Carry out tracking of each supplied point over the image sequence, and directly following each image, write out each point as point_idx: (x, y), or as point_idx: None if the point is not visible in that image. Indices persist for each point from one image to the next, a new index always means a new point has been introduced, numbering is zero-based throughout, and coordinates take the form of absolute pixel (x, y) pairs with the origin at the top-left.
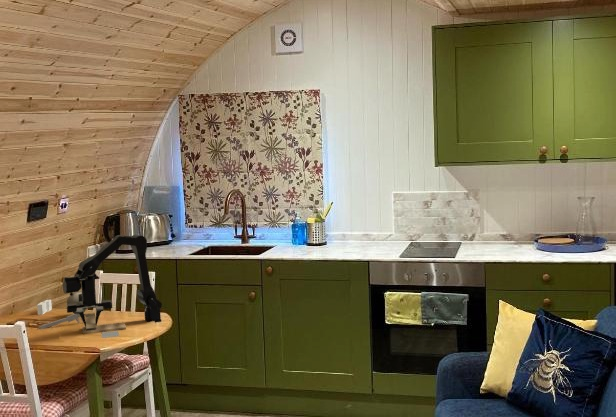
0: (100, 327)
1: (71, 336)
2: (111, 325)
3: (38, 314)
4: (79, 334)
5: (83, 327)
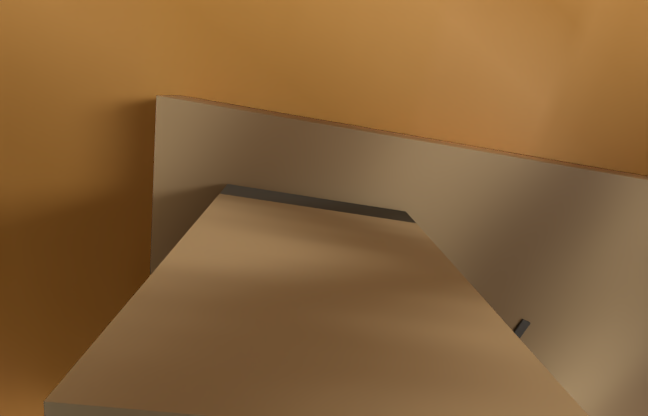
0: None
1: (4, 386)
2: (625, 316)
3: None
4: None
5: (176, 177)
